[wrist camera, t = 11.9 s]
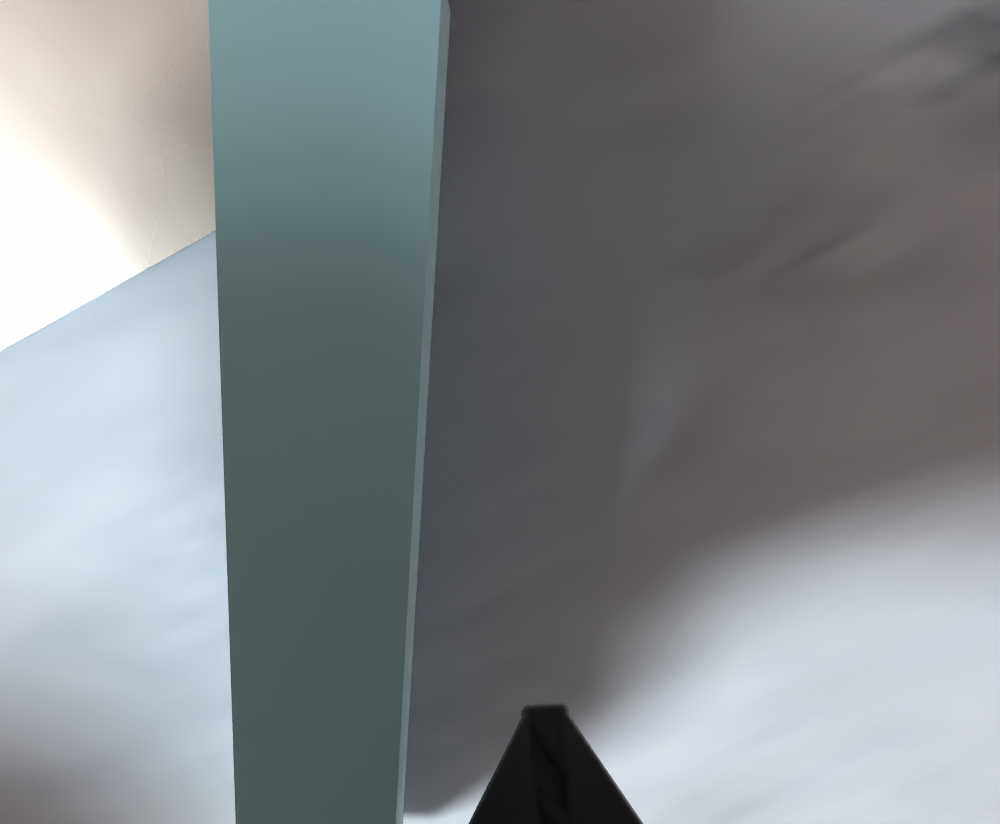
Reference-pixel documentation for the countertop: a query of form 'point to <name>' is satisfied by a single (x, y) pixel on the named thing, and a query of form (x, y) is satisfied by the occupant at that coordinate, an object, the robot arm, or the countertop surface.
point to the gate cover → (324, 386)
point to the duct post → (98, 148)
